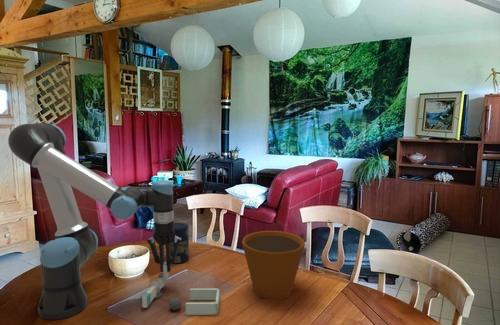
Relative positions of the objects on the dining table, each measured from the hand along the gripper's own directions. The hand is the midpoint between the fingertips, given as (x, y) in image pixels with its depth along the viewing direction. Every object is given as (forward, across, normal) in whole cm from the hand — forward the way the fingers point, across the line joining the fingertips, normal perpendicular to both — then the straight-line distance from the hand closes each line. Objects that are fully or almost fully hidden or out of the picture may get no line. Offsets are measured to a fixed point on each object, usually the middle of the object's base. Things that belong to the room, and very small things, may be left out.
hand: (166, 279), depth 139 cm
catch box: (+3, +16, -14) cm, 22 cm away
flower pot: (+4, +41, -3) cm, 42 cm away
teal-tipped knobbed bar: (+2, -3, -8) cm, 9 cm away
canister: (+4, 0, +26) cm, 27 cm away
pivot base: (+3, -3, -7) cm, 8 cm away
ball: (0, +8, -16) cm, 18 cm away
